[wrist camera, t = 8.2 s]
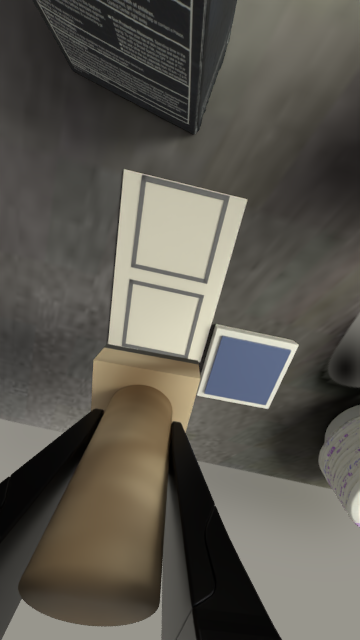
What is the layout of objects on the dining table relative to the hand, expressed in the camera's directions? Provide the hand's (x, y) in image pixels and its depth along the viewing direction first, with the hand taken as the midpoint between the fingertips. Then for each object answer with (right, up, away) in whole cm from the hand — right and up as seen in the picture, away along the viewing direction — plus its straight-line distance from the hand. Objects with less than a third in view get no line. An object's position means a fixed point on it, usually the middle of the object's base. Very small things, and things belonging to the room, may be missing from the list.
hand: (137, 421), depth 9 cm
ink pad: (+9, -1, +13) cm, 16 cm away
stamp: (0, +1, +2) cm, 2 cm away
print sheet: (+1, +9, +10) cm, 14 cm away
